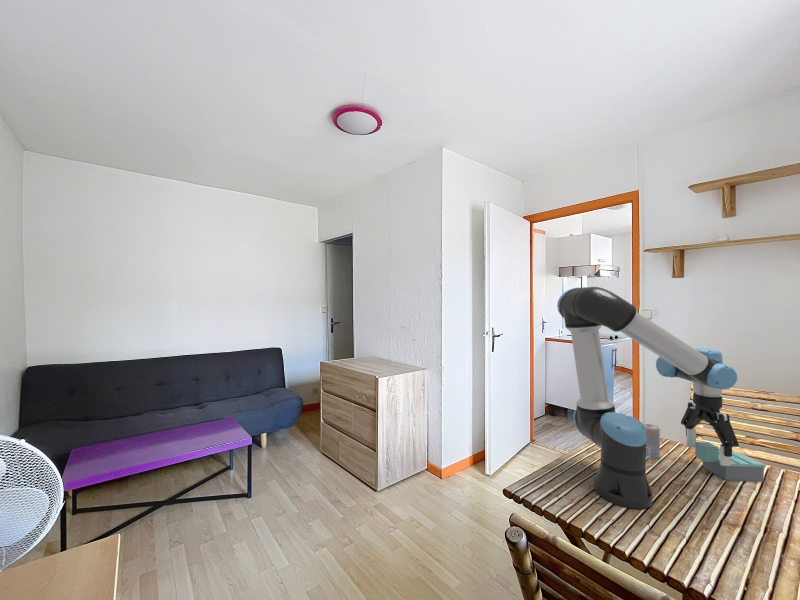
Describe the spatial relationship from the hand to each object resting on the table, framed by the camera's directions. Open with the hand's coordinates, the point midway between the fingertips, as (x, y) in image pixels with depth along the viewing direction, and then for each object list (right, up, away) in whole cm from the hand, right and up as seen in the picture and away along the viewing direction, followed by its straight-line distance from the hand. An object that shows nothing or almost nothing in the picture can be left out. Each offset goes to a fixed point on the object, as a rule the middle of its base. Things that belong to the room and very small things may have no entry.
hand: (707, 455), depth 117 cm
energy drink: (-10, -7, +12) cm, 18 cm away
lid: (+6, -2, 0) cm, 6 cm away
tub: (+8, -7, 0) cm, 11 cm away
